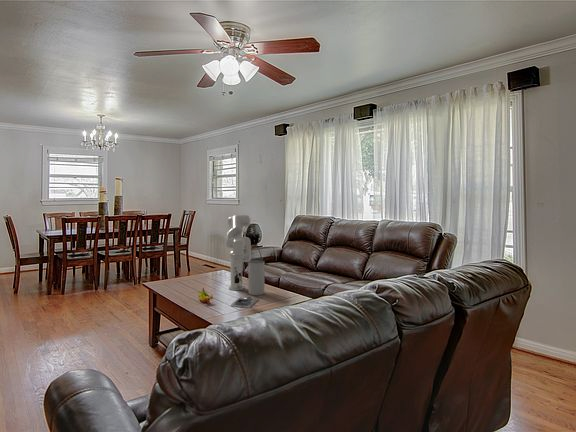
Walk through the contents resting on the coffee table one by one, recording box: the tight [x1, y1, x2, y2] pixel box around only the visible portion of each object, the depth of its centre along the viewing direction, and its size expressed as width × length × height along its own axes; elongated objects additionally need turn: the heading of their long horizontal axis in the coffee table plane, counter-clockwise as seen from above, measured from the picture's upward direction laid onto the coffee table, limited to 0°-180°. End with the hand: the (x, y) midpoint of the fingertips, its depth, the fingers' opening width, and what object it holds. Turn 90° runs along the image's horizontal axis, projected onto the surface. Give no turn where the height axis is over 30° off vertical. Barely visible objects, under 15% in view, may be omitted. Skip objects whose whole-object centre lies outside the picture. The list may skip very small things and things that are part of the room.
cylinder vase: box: [248, 260, 266, 296], centre depth 291 cm, size 12×12×25 cm
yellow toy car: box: [197, 287, 214, 305], centre depth 269 cm, size 6×18×10 cm, turn 36°
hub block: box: [234, 275, 243, 284], centre depth 264 cm, size 5×5×5 cm
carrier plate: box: [230, 296, 259, 309], centre depth 267 cm, size 20×14×2 cm
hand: (238, 282), depth 264 cm, fingers closed on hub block, 4 cm apart
